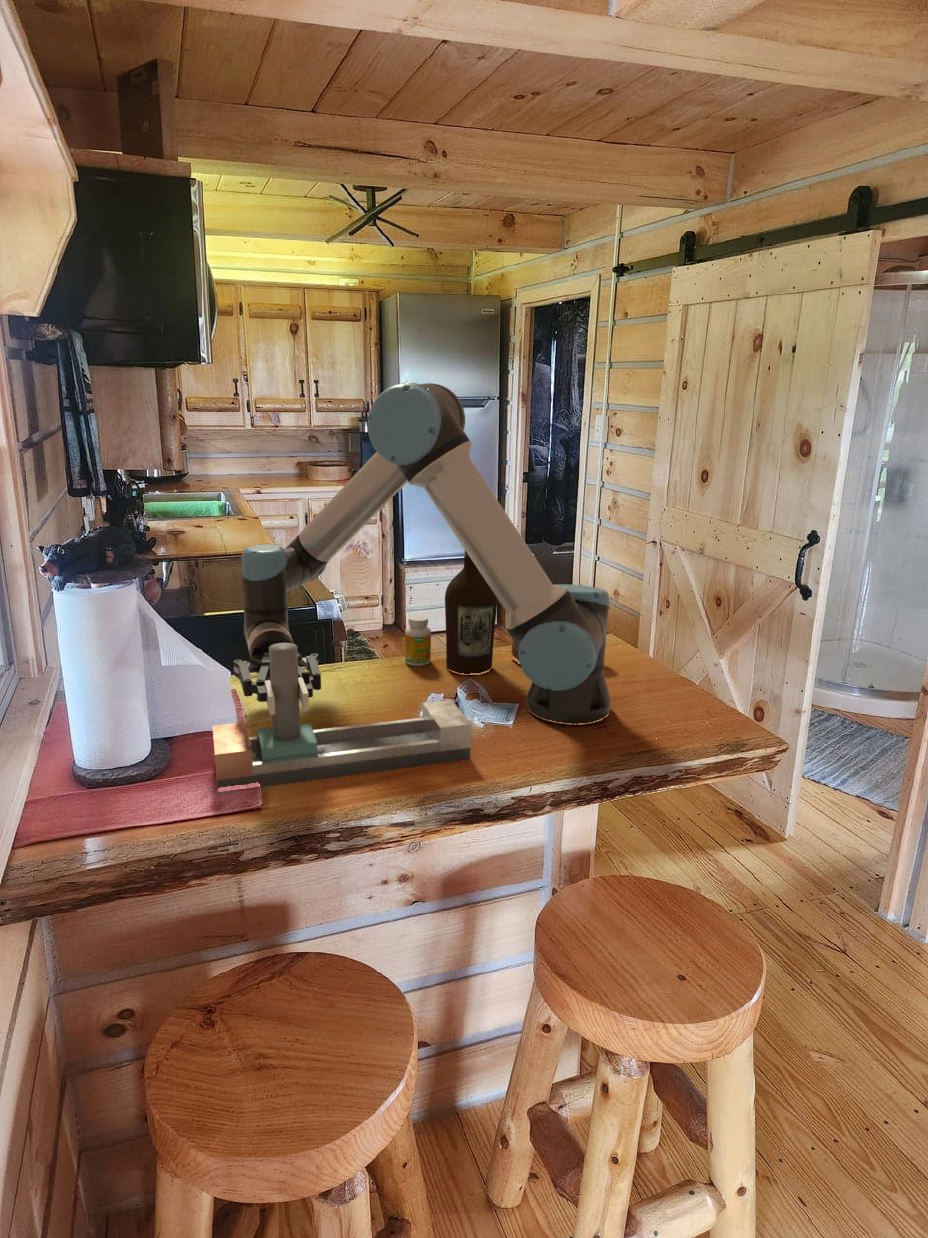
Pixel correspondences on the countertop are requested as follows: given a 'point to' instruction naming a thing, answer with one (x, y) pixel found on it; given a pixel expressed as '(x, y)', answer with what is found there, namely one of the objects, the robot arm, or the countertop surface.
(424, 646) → the supplement bottle
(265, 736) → the carriage
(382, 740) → the rail track
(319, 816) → the countertop surface
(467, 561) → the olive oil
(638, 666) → the countertop surface
